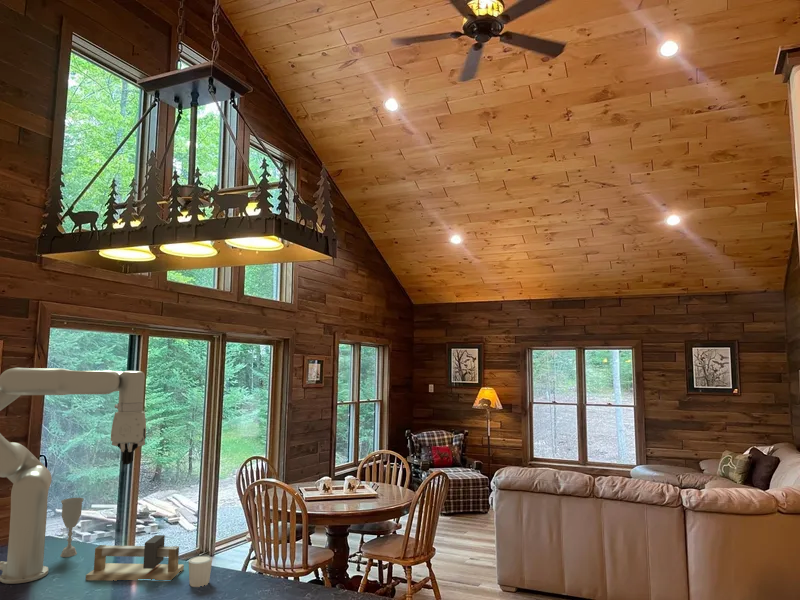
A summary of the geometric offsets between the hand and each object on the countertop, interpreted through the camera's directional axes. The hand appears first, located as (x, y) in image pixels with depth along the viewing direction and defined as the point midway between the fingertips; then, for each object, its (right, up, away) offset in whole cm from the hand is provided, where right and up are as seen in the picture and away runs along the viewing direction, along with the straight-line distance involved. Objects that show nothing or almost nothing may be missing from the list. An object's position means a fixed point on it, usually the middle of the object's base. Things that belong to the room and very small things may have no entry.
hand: (127, 463), depth 191 cm
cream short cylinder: (+30, -31, -18) cm, 47 cm away
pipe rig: (+9, -31, -12) cm, 35 cm away
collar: (+14, -28, -12) cm, 34 cm away
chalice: (-22, -33, +5) cm, 40 cm away
